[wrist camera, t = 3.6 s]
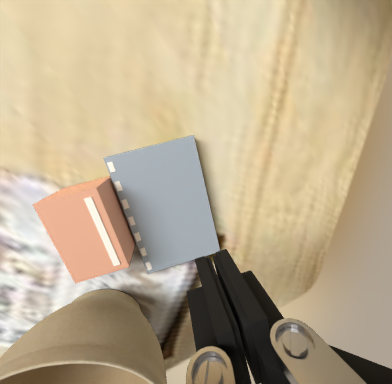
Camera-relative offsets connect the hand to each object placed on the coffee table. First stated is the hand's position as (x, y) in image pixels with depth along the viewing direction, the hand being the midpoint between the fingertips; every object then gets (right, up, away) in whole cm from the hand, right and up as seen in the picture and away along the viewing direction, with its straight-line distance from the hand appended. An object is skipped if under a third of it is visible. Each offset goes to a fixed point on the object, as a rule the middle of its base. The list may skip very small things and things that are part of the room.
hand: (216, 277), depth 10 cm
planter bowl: (-13, -12, +16) cm, 24 cm away
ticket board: (-4, +3, +13) cm, 14 cm away
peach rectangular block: (-11, +2, +12) cm, 16 cm away
